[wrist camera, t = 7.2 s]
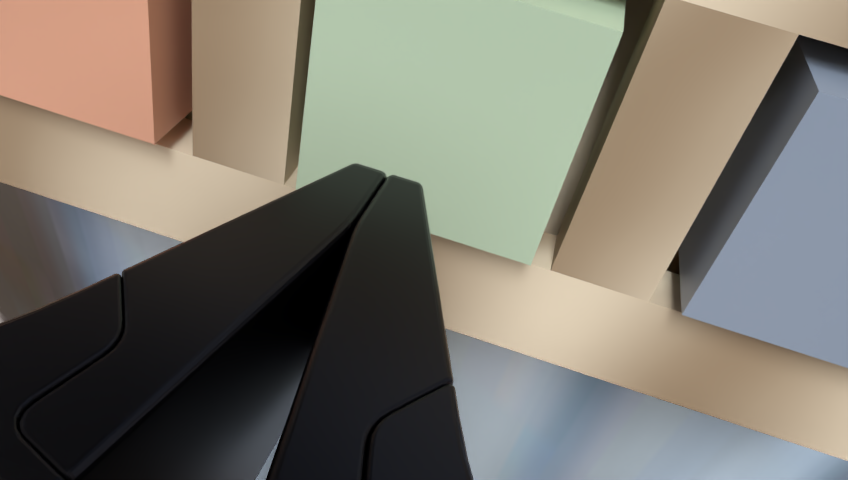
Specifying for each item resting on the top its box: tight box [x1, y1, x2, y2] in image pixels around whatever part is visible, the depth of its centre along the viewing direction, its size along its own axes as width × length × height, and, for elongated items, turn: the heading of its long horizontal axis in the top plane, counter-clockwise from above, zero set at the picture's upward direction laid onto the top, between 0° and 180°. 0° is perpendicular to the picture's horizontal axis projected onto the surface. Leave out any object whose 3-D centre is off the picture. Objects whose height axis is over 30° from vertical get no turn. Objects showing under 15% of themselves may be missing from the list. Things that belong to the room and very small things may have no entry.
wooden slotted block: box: [0, 0, 848, 461], centre depth 12 cm, size 20×9×4 cm, turn 78°
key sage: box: [296, 0, 626, 266], centre depth 11 cm, size 4×4×2 cm
